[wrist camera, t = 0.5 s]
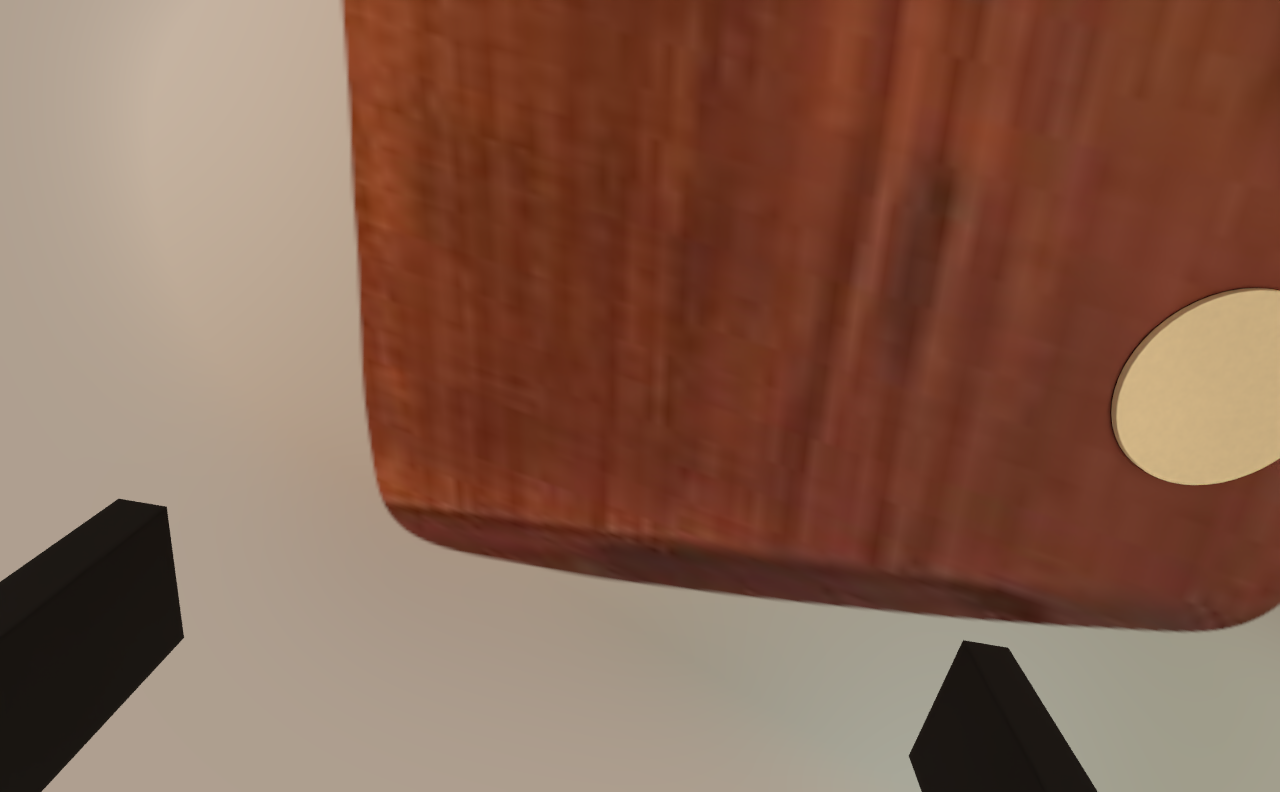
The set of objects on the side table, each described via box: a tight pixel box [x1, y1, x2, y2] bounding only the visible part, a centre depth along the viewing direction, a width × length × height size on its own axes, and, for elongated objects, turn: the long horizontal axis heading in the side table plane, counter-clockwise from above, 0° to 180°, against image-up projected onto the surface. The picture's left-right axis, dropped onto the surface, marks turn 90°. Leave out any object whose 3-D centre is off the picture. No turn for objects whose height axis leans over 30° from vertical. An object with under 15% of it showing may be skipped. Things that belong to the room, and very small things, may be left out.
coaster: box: [1111, 288, 1280, 485], centre depth 29 cm, size 9×9×1 cm
